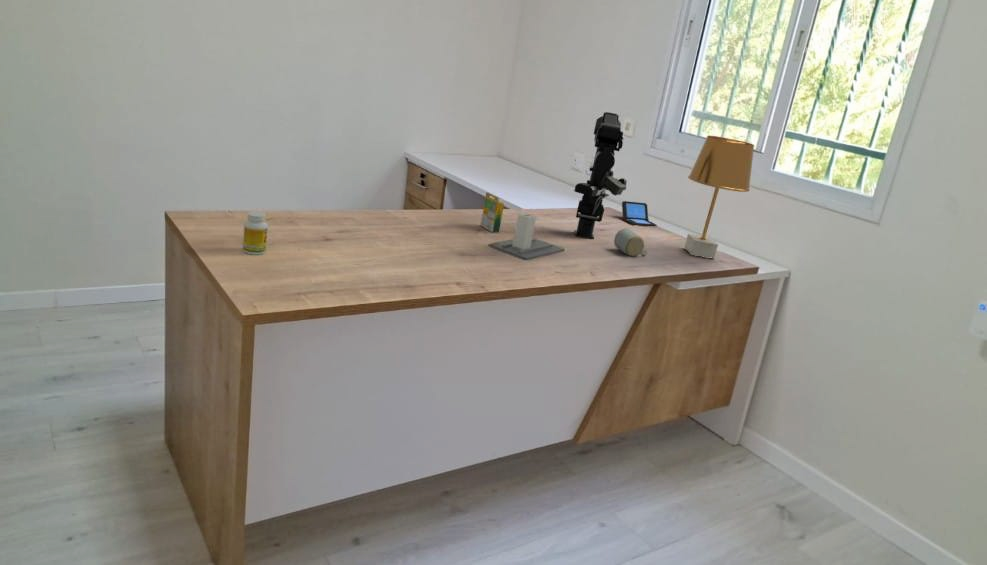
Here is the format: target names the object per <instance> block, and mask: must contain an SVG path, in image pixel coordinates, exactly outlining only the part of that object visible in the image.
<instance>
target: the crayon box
mask: <svg viewBox="0 0 987 565" xmlns="http://www.w3.org/2000/svg"><path fill="white" fill-rule="evenodd" d="M484 199H485V200H484V204H483V209H482V215H481V221H480V226H481V227H482V228H484V229H486V230H487V231H490V232H491V233H500V228H501V223H502V218H503V213H504V207H505V203H503V202H502V201H499V197H497V196H495V195H494V194H492V193H490V192H487V191H486V192H485V198H484Z"/></svg>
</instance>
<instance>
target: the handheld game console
mask: <svg viewBox="0 0 987 565" xmlns="http://www.w3.org/2000/svg"><path fill="white" fill-rule="evenodd" d="M621 208H622V210H621V211H622V221H624V222H625V223H626V224H629V225H631V226H634V225H638V226H637V227H647V226H658V225H657V224H656V223H654V222H652V221H650V219H649V212H648V211H649V210H648V204H647V203H645V202H638V201H636V202H635V201H627V200H623V201H622V202H621Z"/></svg>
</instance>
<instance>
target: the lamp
mask: <svg viewBox="0 0 987 565" xmlns="http://www.w3.org/2000/svg"><path fill="white" fill-rule="evenodd" d="M754 149H755V144H753V143H749V142H746V141H742V140H738V139H733V138H729V137H723V136H716V135H707V136H706V139H705V141H704V143H703V145H702V148H701V149H700V151H699V154H698V156H697V158H696V161H695V162H694V165H693V167H692V169H691V172H690V173H689V175H688V176H687V178H688V180H691V181H693V182H695V183H698V184H701V185H704V186H708V187H712V188H714V192H713V194H712V199H711V202H710V206H709V208H708V213H707V217H706V219H705V223H704V227H703V231H702V234H701V235H697V234H691V233H687V236H686V240H685V243H684V247H685V248H686V250H687V251H688V252H689V253H690V254H691V255H697V256H704V257H712V258H714V259H715V256H716V254H717V249H718V245H719V244H718V243H717V242H716V240H714V239H713V238H712V237H711V236H710V237H709V236H707V233H708V229H709V225H710V221H711V219H712V215H713V211H714V208H715V203H716V201H717V197H718V193H719V190H720V189H721V190H726V191H731V192H738V193H739V192H740V193H741V192H742V193H747V192H750V184H751V175H752V168H753V167H752V166H753V158H754ZM686 250H685V251H686ZM687 251H686V252H687ZM688 252H687V253H688ZM689 253H688V254H689ZM690 254H689V255H690ZM691 255H690V256H691Z"/></svg>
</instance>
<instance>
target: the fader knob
mask: <svg viewBox="0 0 987 565" xmlns="http://www.w3.org/2000/svg"><path fill="white" fill-rule="evenodd" d="M536 220H537V216H536V215H533V214H530V213H527V212H524V213H518V214H517V219H516V224H515V229H514V235H513V244H512V246H514V247H517V248H520V249H528V248H530V246H531V241H532V237H534V236H533V235H534V231H535V225H536Z"/></svg>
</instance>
